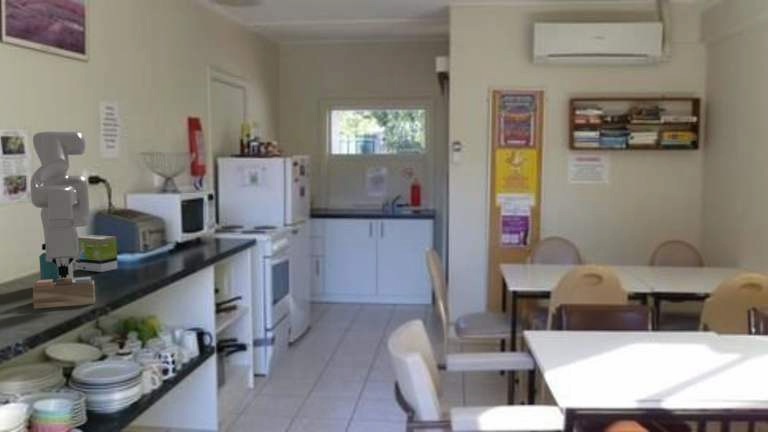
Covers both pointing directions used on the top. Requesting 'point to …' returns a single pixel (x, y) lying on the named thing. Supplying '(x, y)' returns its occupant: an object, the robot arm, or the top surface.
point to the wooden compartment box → (64, 295)
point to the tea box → (97, 253)
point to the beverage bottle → (48, 268)
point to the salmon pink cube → (44, 283)
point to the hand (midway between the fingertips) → (63, 277)
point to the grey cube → (83, 280)
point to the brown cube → (64, 281)
